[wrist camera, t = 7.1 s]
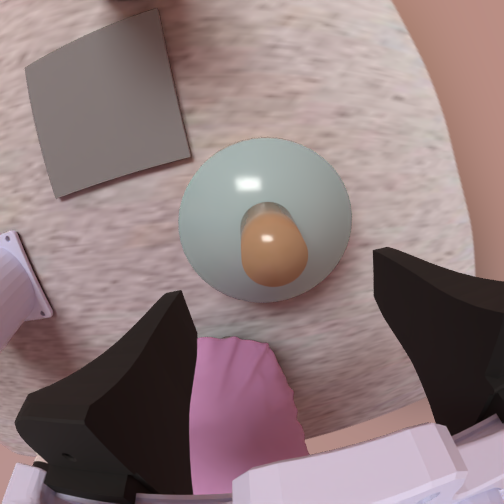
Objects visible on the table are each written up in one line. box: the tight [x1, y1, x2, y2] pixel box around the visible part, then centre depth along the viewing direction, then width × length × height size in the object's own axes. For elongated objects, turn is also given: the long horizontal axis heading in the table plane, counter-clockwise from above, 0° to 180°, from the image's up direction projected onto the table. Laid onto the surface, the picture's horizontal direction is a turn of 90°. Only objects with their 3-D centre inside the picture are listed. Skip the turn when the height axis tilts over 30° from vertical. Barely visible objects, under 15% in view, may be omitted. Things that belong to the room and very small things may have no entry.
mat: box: [25, 8, 191, 199], centre depth 17 cm, size 10×10×1 cm
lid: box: [178, 137, 352, 303], centre depth 15 cm, size 9×9×4 cm
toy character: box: [189, 337, 310, 495], centre depth 17 cm, size 12×10×20 cm
